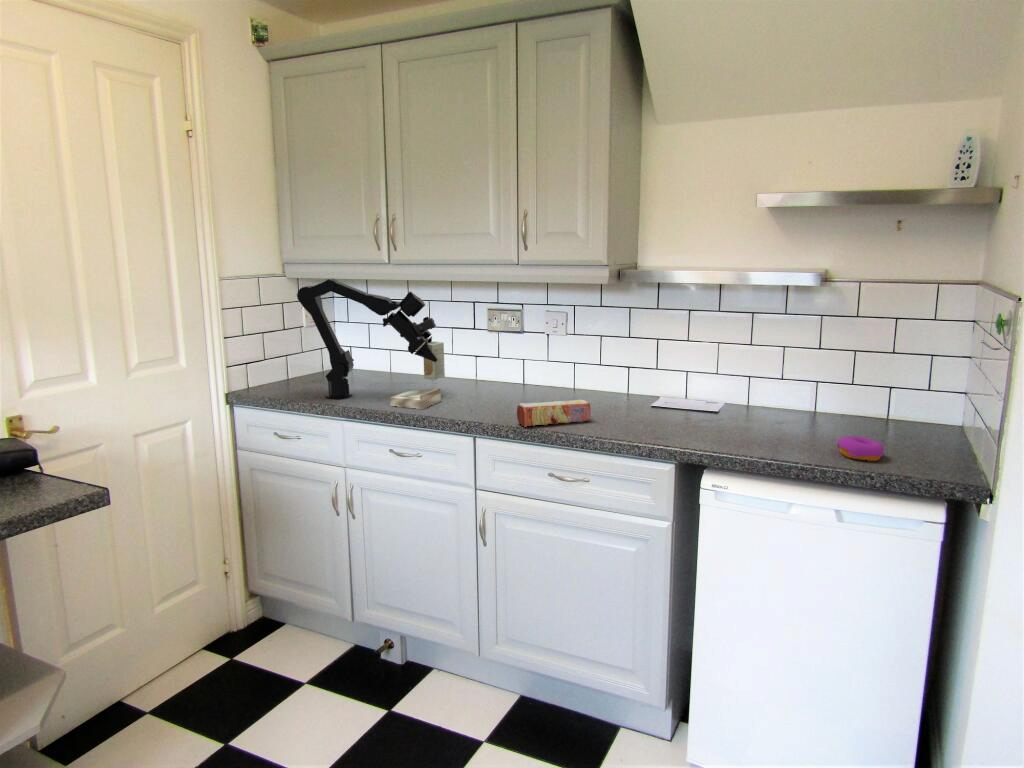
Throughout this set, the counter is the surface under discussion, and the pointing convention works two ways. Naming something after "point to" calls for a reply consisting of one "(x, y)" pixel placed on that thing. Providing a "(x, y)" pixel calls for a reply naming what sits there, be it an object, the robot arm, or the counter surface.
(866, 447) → the donut
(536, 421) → the snack package
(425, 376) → the skincare box
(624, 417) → the counter surface
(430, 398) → the stand
